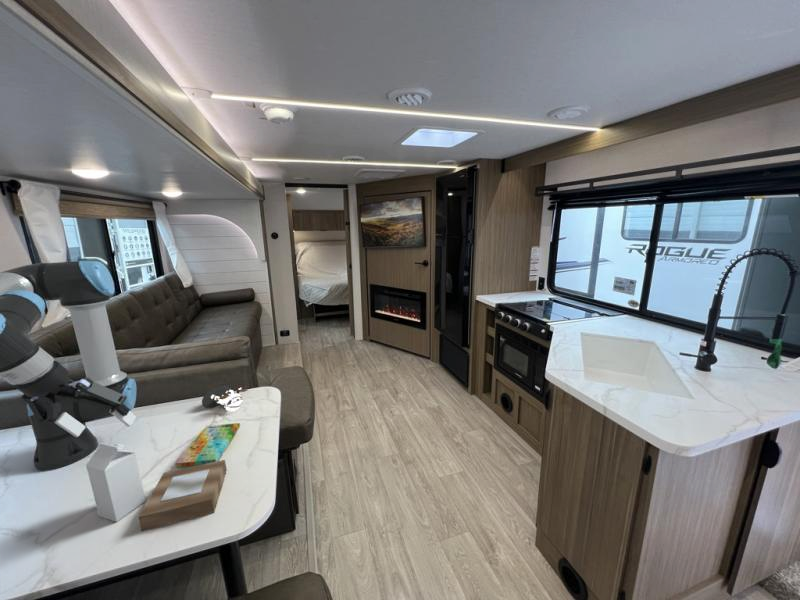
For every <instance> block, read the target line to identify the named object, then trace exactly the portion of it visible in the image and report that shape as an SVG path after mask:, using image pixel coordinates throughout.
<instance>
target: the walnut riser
mask: <svg viewBox="0 0 800 600" xmlns="http://www.w3.org/2000/svg"><path fill="white" fill-rule="evenodd" d="M226 471H228V469H227V464H226V459H222V460H221V459H220V460H219V461H217V462H212V463H207V464H202V465H198V466H193V467H188V468H184V469H179V468H178V469H175V470H174V469H173V470H170V471H166V472H163V473H162V475H161V477H160V479H159V481H158V482H157V484H156V486H155V488H154V489H153V491H152V493H151V494H150V496H149V498H148V499H147V500H146V503H145V504H144V506H143V508H142V510H141V512H140V514H139V515H138V516H137V517H138V522H139V526H140V531H142V532H143V531H147V530H151V529H154V528H158V527H162V526H167V525H171V524H175V523H178V522H182V521H186V520H190V519H194V518H197V517H202V516H207V515H211V514H214V513H215V511H216V508H217V504H218V502H219V499H220V495H221V492H222V490H223V489H222V488H223V485H224V482H225V479H224V478H226V476H227V473H226ZM225 475H226V476H225Z"/></svg>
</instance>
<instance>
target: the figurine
mask: <svg viewBox="0 0 800 600" xmlns="http://www.w3.org/2000/svg"><path fill="white" fill-rule="evenodd" d="M248 390H249V388H247V387H245V388H244V387H240V388H238V389H233V388H231V387H230V386H228V385H226V384H225V385H223V386H220V387H215V388H211V389H210V390H208V391H207V392H206V393H205V394H204V396H203V397H202V400H201V404H202V406H203V408H205V409H207V408H208V409H210V408H211V409H212V408H215V407H217V406H219V405H220V406H221V407H223V410H225V411H228V412H235V411H237V410H238V409H240V407H241V406H243V404H244V400H243V398H242V396H241V394H240V393H244V392H247V391H248Z"/></svg>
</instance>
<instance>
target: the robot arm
mask: <svg viewBox="0 0 800 600" xmlns="http://www.w3.org/2000/svg"><path fill="white" fill-rule="evenodd" d="M113 279H114V278H113V277H112V274H111V273H110V271H109V269H108V267H107V266H106V265H105V264H104V263H103V262H100V261H97V260H75V261H62V262H61V261H60V262H44V263H43V262H40V263H39V262H38V263H32V264H26V265H22V266H18V267H14V268H11V269H7V270H4V271H1V272H0V378H2V380H3V381H4V382H5V381H6V382H7V383H8V384H10V385H13V386H14V387H15V389H17V390H18V391H19V392H21V393H23V394H22V395H21V397H20V398H21V399H22V400H23V401H25V403H26V408H27V416H28V418H29V421H30V425H31V429H32V431H33V434H34V439H35V441H36V445H35V451H34V455H33V466H34V469H36V470H37V471H51V470H56V469H60V468H63V467H66V466H69V465H71V464H73V463H76V462H78V461H81V460H82V459H84V458H85V457H88V456H89V455H90V454H92V453H93V452H94V451H95V450H96V449H98V447H99V442H98V439H97V437H96V436H95V435H94V434H93V433H92V431H91V430H90V429H89V428H88V427H87V425H86V424H87V423H89V422H94V421H98V420H103V419H108V418H111V417H112V418H113V417H115V418H116V419H118V421H120V422H121V423H123V424H124V425H125V426H126V427H128V428H129V427H132V425H133V423H134V422H135V420H136V418H137V415H136V414H134V413H133V412H132V410H133V409H134V407H135V405H136V400H137V383H136V380H135V379H134V378H132V377H131V378H128V375H127V373H126V372H124V371H122V370H121V368H120V365H119V359H118V355H117V351H116V346H115V342H114V338H113V333H112V328H111V325H110V321H109V316H108V311H107V307H106V305H107V304H108V303H109V302H110V300H111V298H110V296H112V295H114V294H115V289H116V288H115V283H114V280H113ZM47 301H48V302H49V301H59V302H60V306H61V307H62V308H65V309H66V310H68V311H69V313H70V318H71V321H72V322H71V323H72V325H73V328H74V333H75V337H76V341H77V345H78V349H79V353H80V357H81V361H82V365H83V368H84V372H85V376H83V377H81V378H80V379H79V380H73V379H71V378H70V377H69V373H70V372H69V370H68V369H67V368H66V367H65V366H63V365H62V363H60V362H58V361H57V360H55V359H54V357H53V356H52V355H51V354H49V353H48V352H47V351H45V350H44V349H43V348H42V347H41V346H39V345H38V344H37V343H35V342H34V341H33V340H32V339H31V338H29V337H28V335H29V334H30V333H31V331H32V330H33V328H34V326H36V324H37V323H38V322H39V321H40V320H41V318H42V315H43V314H44V312H45V310H46V303H45V302H47Z"/></svg>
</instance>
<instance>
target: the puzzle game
mask: <svg viewBox="0 0 800 600" xmlns="http://www.w3.org/2000/svg"><path fill="white" fill-rule="evenodd" d="M240 423H241V422H236V423H224V424H213V425H206V426H205V427H204V429H203V430H202V431H201V432H199V434H198V435H197V436H196V437H195V439H194V440H193V441H192V443H190V444H189V446H188V447H187V448H186V449H185V451H183V453H182V454H181V455H180V456H179V457H178V458H177V460H176V461H175V463H174V465H175V468H177V469H178V470H179V469H184V468H188V467H193V466H198V465H202V464H207V463H212V462H217V461H221V458H222V456H223V455H224V454H225V452H226V451H227V449H228V447H229V446H230V445H231V442H233V440H234V438H235V436H236V435H237V432H238V430H239V429H240V428H241V424H240ZM223 453H224V454H223Z"/></svg>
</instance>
